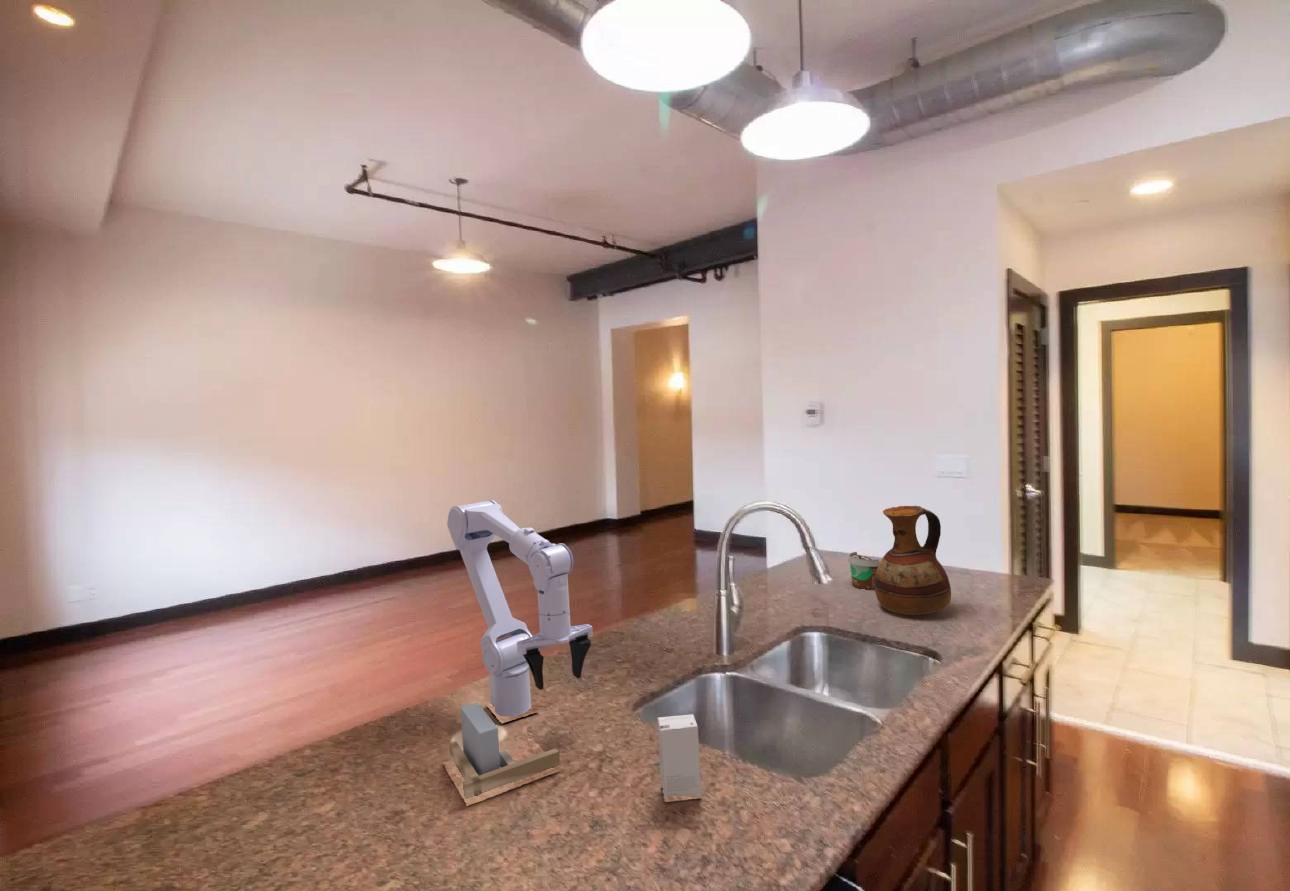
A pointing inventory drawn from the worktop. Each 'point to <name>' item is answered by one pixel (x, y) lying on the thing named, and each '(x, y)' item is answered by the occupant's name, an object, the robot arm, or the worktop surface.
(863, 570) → the food container
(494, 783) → the book rack
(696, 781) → the skincare box
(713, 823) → the worktop surface
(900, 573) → the ceramic pitcher
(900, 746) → the worktop surface
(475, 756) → the book
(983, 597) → the worktop surface
